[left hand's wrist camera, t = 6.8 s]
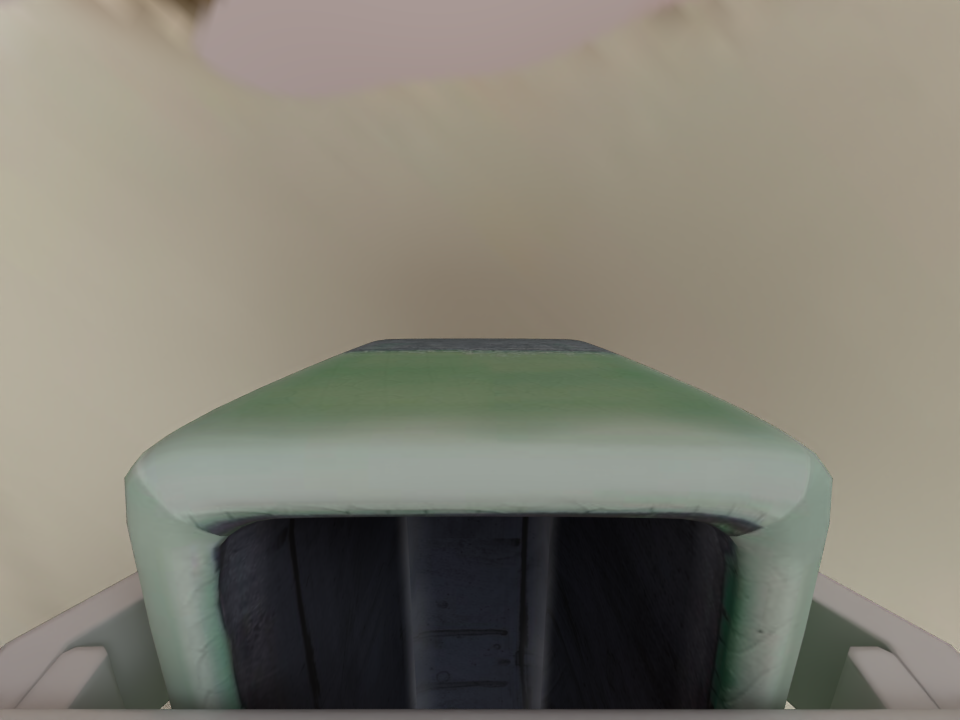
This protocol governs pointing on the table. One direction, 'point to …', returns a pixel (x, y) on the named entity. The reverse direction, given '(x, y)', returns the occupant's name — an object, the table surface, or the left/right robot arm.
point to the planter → (478, 537)
